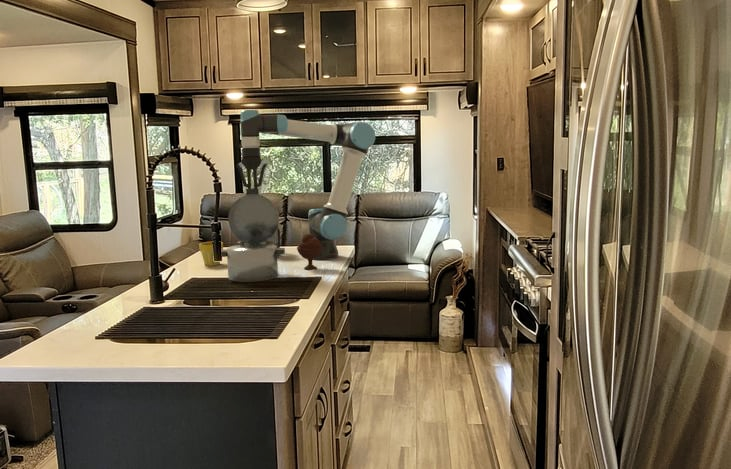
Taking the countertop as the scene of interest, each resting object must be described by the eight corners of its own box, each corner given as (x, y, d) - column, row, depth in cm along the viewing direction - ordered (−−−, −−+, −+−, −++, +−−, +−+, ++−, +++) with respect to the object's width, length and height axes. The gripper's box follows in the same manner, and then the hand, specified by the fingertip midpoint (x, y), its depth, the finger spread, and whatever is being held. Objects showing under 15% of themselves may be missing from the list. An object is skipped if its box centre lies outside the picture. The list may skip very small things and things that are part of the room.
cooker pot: (286, 270, 261) (285, 242, 259) (283, 280, 241) (282, 250, 240) (225, 272, 260) (223, 244, 258) (216, 283, 240) (215, 252, 238)
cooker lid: (279, 244, 260) (280, 243, 263) (277, 188, 257) (278, 187, 261) (229, 246, 259) (231, 245, 262) (226, 189, 256) (228, 189, 260)
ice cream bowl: (293, 270, 260) (291, 235, 258) (305, 265, 270) (304, 231, 268) (315, 271, 256) (314, 236, 254) (327, 266, 266) (326, 232, 264)
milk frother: (277, 257, 292) (276, 226, 290) (244, 258, 292) (243, 227, 290) (282, 252, 306) (281, 223, 304) (251, 253, 307) (249, 223, 304)
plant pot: (220, 266, 274) (219, 244, 272) (197, 266, 274) (196, 245, 273) (226, 262, 284) (225, 241, 283) (204, 262, 284) (202, 241, 283)
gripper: (267, 147, 262) (269, 202, 265) (236, 147, 261) (239, 202, 265) (265, 147, 255) (267, 203, 258) (233, 147, 254) (236, 204, 257)
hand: (253, 203), depth 261 cm, fingers closed
